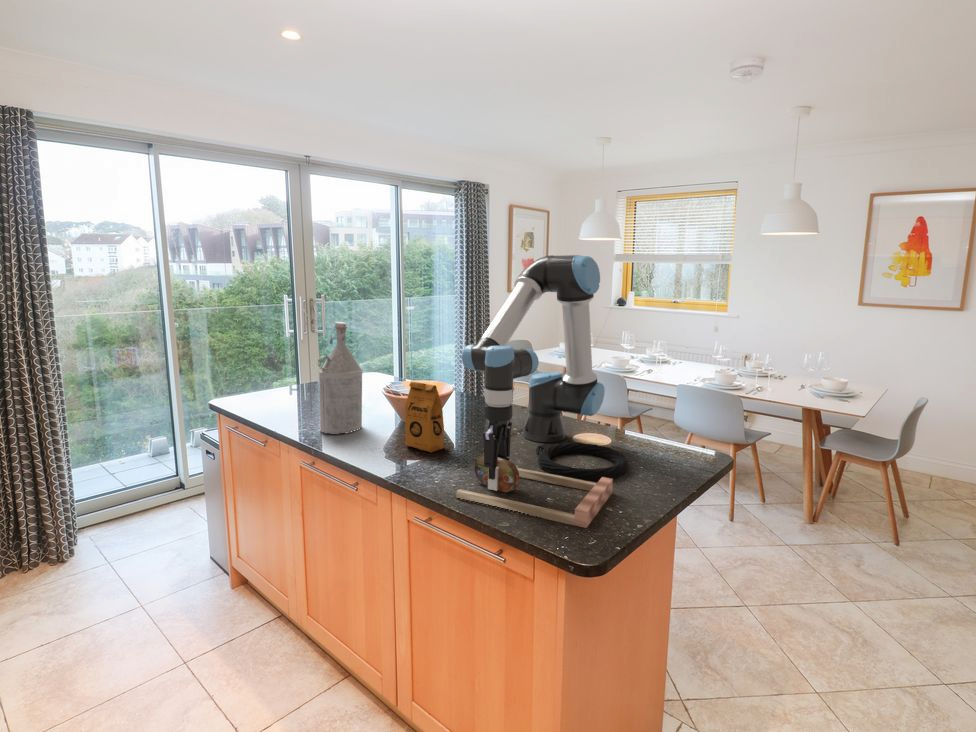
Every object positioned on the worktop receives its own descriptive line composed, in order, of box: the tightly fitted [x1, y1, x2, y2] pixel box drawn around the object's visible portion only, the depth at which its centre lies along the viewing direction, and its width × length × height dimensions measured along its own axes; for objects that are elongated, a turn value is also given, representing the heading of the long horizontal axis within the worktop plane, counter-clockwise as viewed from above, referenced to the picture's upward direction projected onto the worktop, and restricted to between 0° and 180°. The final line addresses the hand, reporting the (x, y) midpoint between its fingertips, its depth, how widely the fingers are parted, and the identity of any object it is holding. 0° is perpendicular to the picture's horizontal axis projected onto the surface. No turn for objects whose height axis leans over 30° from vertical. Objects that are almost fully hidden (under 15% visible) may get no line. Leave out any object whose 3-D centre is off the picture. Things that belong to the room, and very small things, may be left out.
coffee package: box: [404, 380, 445, 453], centre depth 183 cm, size 10×12×22 cm
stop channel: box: [456, 467, 614, 529], centre depth 147 cm, size 24×35×4 cm
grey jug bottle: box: [317, 321, 363, 435], centre depth 201 cm, size 13×17×40 cm
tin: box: [474, 455, 520, 493], centre depth 152 cm, size 15×3×8 cm, turn 45°
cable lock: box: [535, 442, 629, 482], centre depth 172 cm, size 28×4×30 cm
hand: (496, 486), depth 153 cm, fingers closed on tin, 4 cm apart
